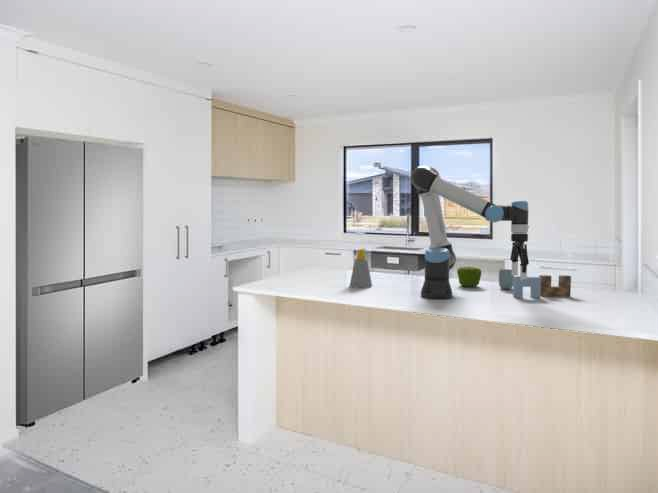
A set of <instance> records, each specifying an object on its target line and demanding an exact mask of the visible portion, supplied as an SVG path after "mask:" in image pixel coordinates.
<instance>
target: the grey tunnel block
mask: <svg viewBox="0 0 658 493" xmlns="http://www.w3.org/2000/svg"><path fill="white" fill-rule="evenodd" d="M524 287H526V288H530V292H529V293H530V294H529V295H530V296H529V297H530V298H532V299H541V296H540V293H541V277H539V276H527V279H520V275H514V277H513V287H512V297H513V298H514V299H523V298H524V296H523V295H524V291H523V290H524Z"/></svg>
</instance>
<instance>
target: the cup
mask: <svg viewBox="0 0 658 493" xmlns="http://www.w3.org/2000/svg"><path fill="white" fill-rule="evenodd" d="M514 276H515V275H512V269H505V268H504V269H503V268H502V269H501V268H500V269H499V270H498V286H499V288H500V289H502V290H511V289H513V277H514Z"/></svg>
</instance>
